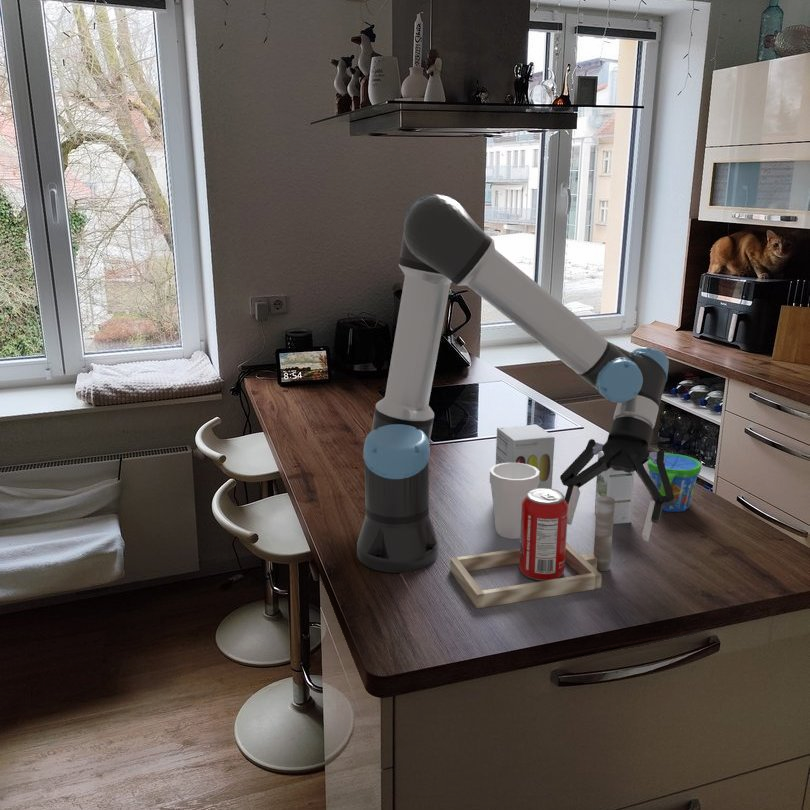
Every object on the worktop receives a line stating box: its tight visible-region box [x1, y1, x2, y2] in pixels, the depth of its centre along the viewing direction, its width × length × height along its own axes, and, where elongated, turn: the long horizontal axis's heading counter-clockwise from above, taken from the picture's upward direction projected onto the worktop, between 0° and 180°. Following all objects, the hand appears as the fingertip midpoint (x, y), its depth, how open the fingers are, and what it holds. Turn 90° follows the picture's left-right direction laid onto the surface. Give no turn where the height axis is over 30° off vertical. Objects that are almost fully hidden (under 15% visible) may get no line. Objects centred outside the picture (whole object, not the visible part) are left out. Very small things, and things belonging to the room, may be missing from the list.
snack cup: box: [647, 453, 702, 513], centre depth 162 cm, size 16×10×10 cm
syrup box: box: [594, 451, 635, 525], centre depth 155 cm, size 6×6×14 cm
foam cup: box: [489, 463, 540, 540], centre depth 150 cm, size 10×9×13 cm
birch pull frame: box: [449, 496, 615, 610], centre depth 132 cm, size 28×13×13 cm, turn 106°
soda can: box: [519, 488, 568, 582], centre depth 134 cm, size 8×8×15 cm
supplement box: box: [495, 424, 556, 489], centre depth 161 cm, size 10×9×17 cm
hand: (605, 530), depth 135 cm, fingers open, 13 cm apart
